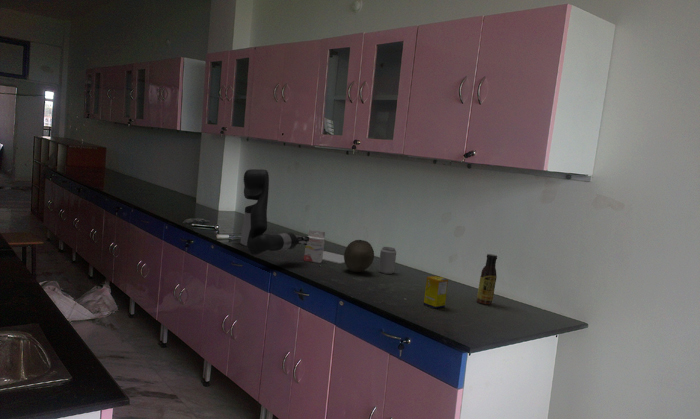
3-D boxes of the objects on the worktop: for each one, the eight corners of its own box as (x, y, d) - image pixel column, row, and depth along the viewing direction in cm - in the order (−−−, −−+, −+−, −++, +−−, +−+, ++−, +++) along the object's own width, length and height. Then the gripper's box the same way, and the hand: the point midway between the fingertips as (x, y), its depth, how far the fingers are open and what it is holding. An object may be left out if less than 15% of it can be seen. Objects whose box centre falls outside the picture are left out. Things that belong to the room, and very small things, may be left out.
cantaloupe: (336, 271, 244) (340, 239, 243) (349, 267, 257) (353, 236, 256) (365, 277, 239) (369, 244, 237) (377, 273, 251) (380, 241, 250)
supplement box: (432, 303, 208) (436, 275, 207) (445, 307, 204) (448, 279, 203) (422, 304, 204) (426, 276, 203) (435, 309, 200) (438, 280, 199)
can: (382, 269, 260) (385, 245, 259) (396, 273, 256) (399, 248, 255) (375, 271, 253) (378, 246, 252) (389, 275, 250) (392, 249, 248)
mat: (303, 255, 274) (304, 254, 274) (324, 252, 289) (324, 251, 289) (339, 263, 263) (339, 262, 262) (359, 260, 278) (359, 259, 278)
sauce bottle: (481, 305, 213) (488, 255, 211) (473, 300, 219) (480, 252, 217) (495, 305, 215) (502, 256, 213) (487, 301, 221) (494, 253, 219)
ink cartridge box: (303, 260, 260) (306, 230, 259) (305, 259, 265) (308, 229, 264) (321, 263, 260) (324, 233, 258) (322, 261, 265) (325, 231, 263)
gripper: (296, 235, 238) (319, 233, 252) (273, 230, 245) (297, 228, 259) (295, 252, 238) (318, 249, 253) (272, 247, 245) (296, 243, 260)
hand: (307, 238), depth 256 cm, fingers closed
